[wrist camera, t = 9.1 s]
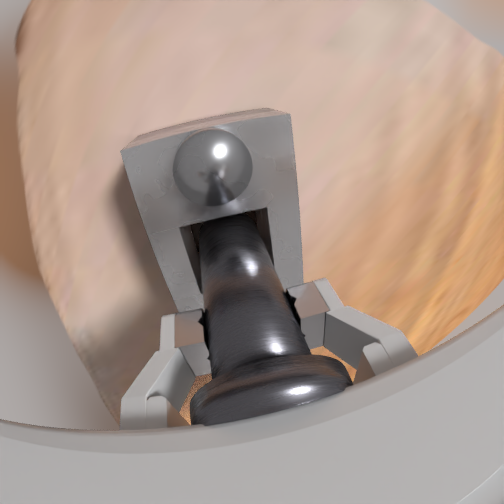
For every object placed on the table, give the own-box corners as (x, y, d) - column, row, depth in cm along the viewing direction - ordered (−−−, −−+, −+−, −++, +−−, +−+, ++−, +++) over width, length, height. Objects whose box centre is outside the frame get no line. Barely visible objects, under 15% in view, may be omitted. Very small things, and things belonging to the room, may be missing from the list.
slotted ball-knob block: (286, 281, 20) (309, 331, 16) (192, 303, 20) (195, 358, 16) (266, 107, 14) (298, 116, 10) (138, 135, 13) (113, 156, 9)
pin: (274, 262, 16) (348, 431, 7) (197, 280, 15) (217, 464, 7) (265, 188, 13) (377, 366, 5) (174, 208, 13) (164, 419, 5)
